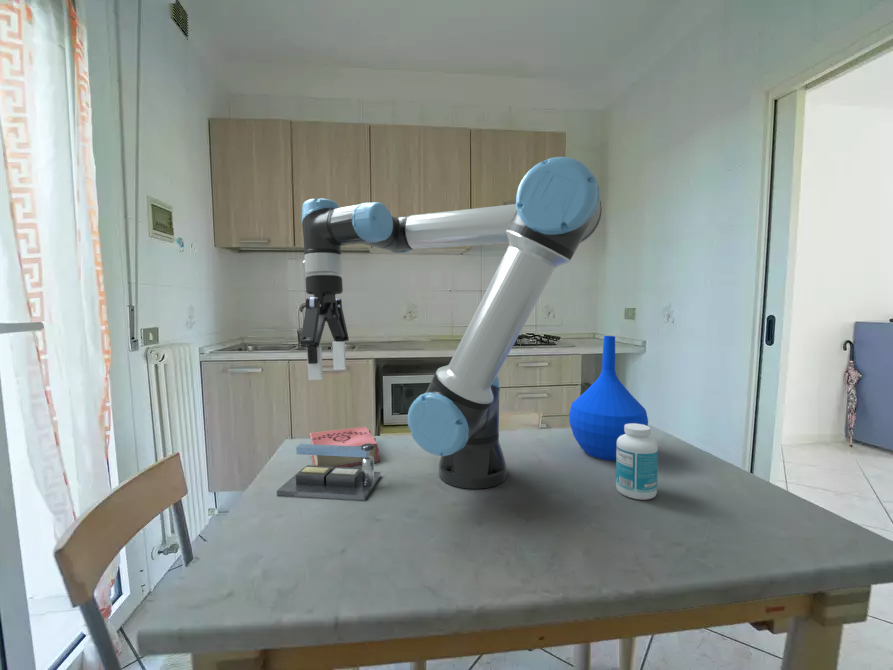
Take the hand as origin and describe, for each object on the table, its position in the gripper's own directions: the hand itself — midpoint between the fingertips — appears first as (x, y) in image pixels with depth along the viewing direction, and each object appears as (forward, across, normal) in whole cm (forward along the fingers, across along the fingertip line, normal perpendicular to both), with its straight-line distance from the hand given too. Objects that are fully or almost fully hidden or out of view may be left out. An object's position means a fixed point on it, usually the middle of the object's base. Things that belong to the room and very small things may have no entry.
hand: (328, 374), depth 86 cm
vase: (+25, -18, +64) cm, 71 cm away
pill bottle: (+25, +2, +63) cm, 68 cm away
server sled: (+23, +4, +1) cm, 23 cm away
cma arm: (+16, +4, +2) cm, 17 cm away
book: (+23, -12, -2) cm, 26 cm away
